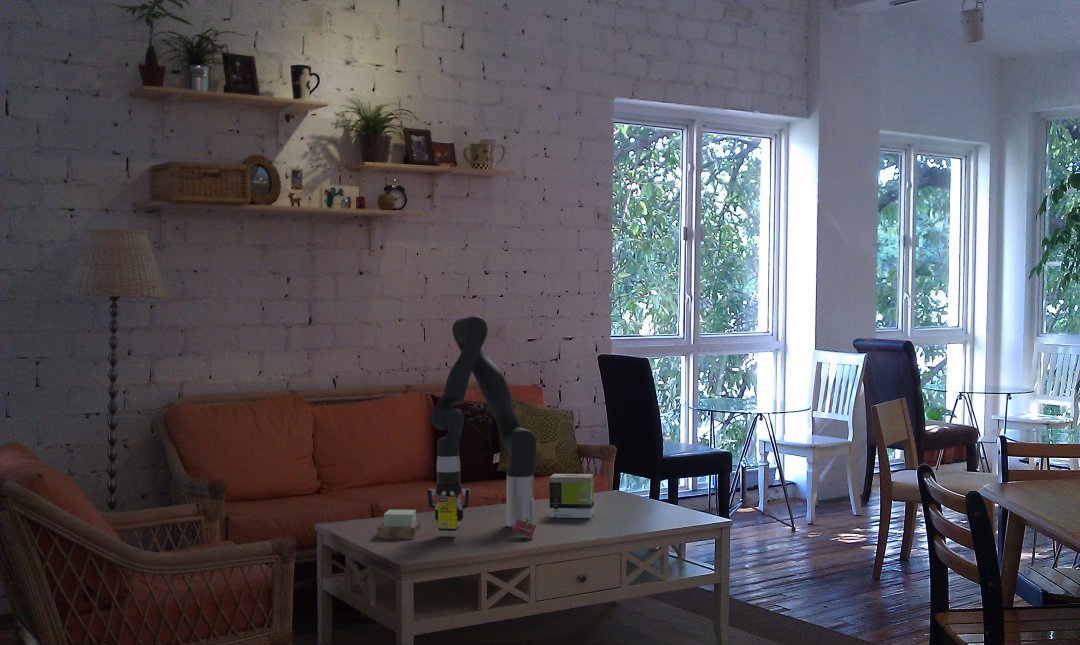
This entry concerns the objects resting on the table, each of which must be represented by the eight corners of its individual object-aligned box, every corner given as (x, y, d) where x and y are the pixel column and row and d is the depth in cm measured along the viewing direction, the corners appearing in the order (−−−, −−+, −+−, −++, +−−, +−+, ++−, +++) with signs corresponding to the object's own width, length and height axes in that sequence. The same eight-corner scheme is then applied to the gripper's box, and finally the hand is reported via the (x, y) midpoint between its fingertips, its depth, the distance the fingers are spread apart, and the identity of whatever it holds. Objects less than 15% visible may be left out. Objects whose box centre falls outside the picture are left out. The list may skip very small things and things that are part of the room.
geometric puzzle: (538, 529, 352) (524, 509, 351) (542, 533, 345) (527, 513, 344) (521, 543, 351) (506, 523, 350) (524, 547, 344) (509, 527, 343)
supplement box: (456, 531, 346) (455, 497, 346) (437, 530, 347) (437, 497, 347) (460, 527, 352) (460, 494, 352) (443, 527, 353) (442, 493, 353)
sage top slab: (415, 521, 357) (416, 509, 357) (411, 527, 348) (411, 514, 348) (388, 521, 358) (389, 509, 358) (383, 526, 349) (383, 514, 349)
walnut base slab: (420, 533, 359) (420, 521, 359) (414, 540, 347) (414, 528, 347) (384, 532, 359) (384, 520, 359) (377, 539, 347) (377, 527, 347)
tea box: (594, 514, 391) (594, 473, 391) (590, 519, 381) (590, 477, 381) (553, 513, 394) (553, 472, 394) (548, 518, 384) (548, 476, 384)
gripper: (471, 467, 353) (472, 518, 353) (428, 468, 354) (428, 519, 354) (469, 471, 346) (470, 523, 346) (424, 471, 346) (425, 523, 346)
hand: (449, 520), depth 350 cm, fingers closed on supplement box, 6 cm apart
